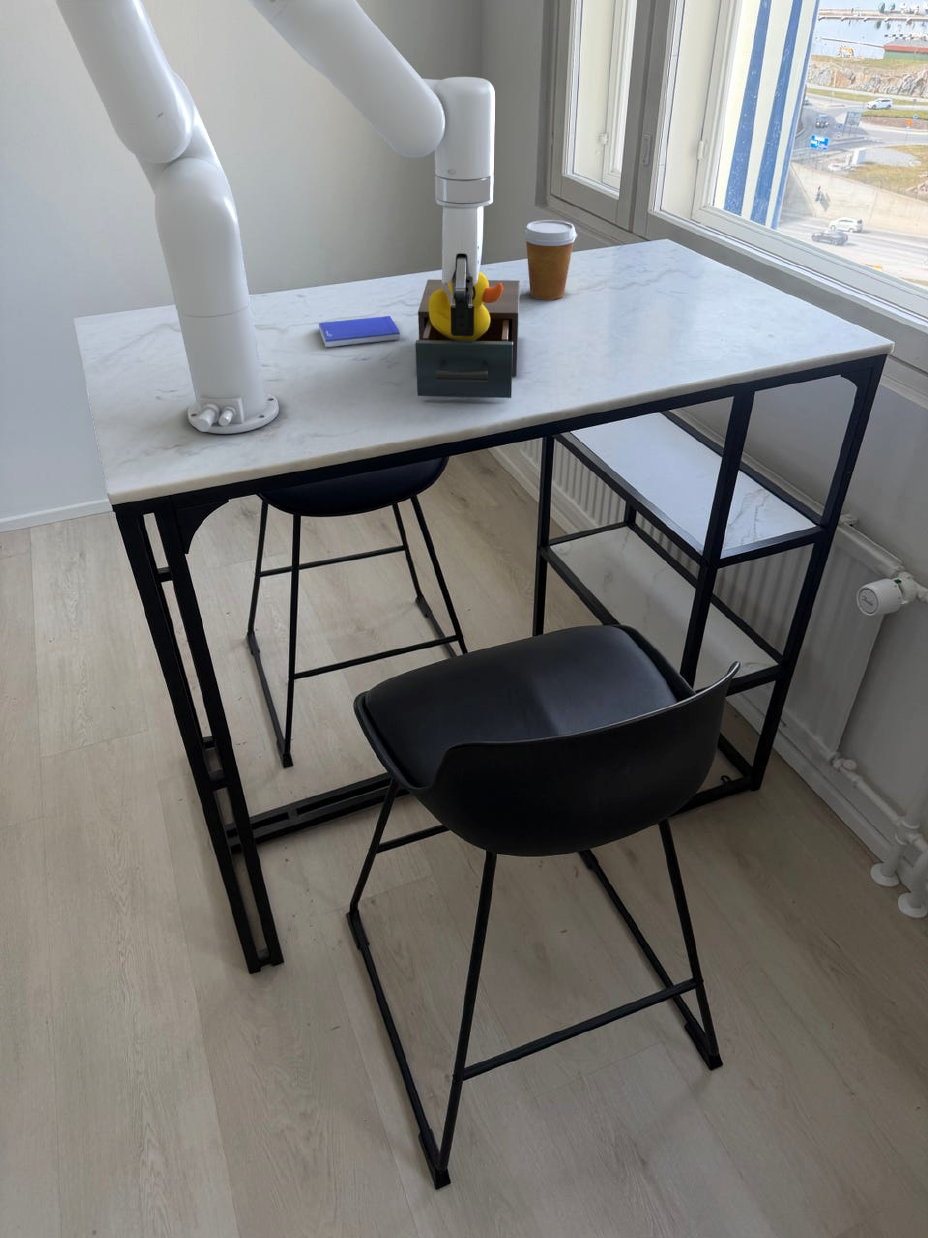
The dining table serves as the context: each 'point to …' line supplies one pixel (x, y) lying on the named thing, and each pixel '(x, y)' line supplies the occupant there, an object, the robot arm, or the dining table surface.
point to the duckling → (481, 294)
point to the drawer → (465, 363)
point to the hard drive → (358, 331)
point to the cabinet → (499, 309)
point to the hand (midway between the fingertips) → (463, 325)
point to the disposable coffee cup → (549, 257)
